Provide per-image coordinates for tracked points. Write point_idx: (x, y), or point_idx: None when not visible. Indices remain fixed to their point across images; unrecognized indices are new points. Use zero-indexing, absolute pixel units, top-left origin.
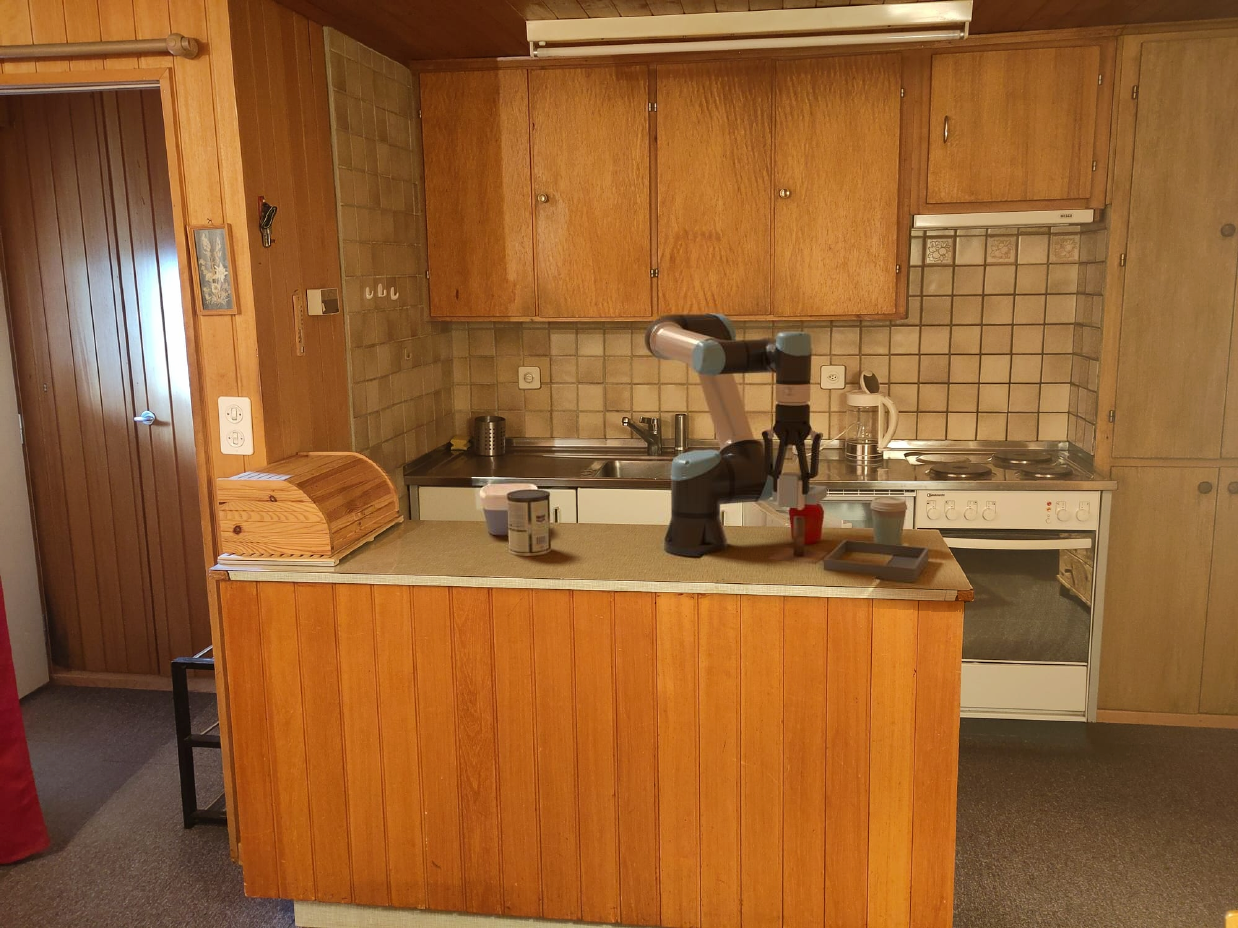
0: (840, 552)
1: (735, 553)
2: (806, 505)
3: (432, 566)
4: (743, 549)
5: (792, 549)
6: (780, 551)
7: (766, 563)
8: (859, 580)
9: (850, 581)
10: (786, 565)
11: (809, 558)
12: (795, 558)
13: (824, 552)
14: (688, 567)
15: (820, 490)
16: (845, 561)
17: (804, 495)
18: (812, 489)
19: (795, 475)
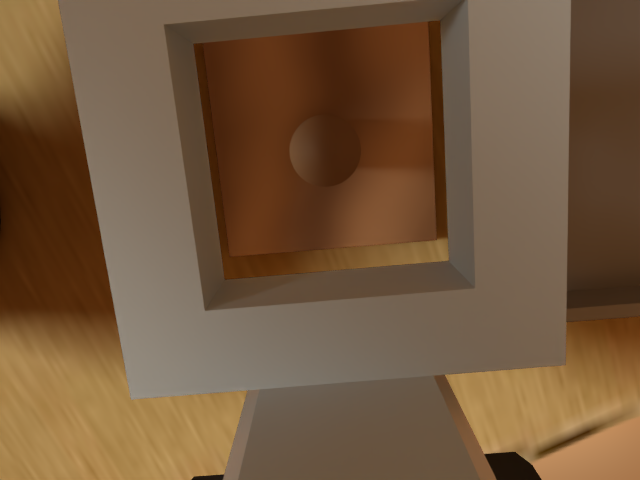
0: None
1: (47, 187)
2: None
3: None
4: (41, 102)
5: (260, 51)
6: (225, 115)
7: (234, 275)
8: (636, 335)
9: (606, 362)
10: (317, 266)
11: (385, 172)
12: (331, 201)
13: (415, 33)
14: (6, 457)
15: (560, 161)
16: (600, 315)
17: (464, 416)
18: (417, 4)
19: None
